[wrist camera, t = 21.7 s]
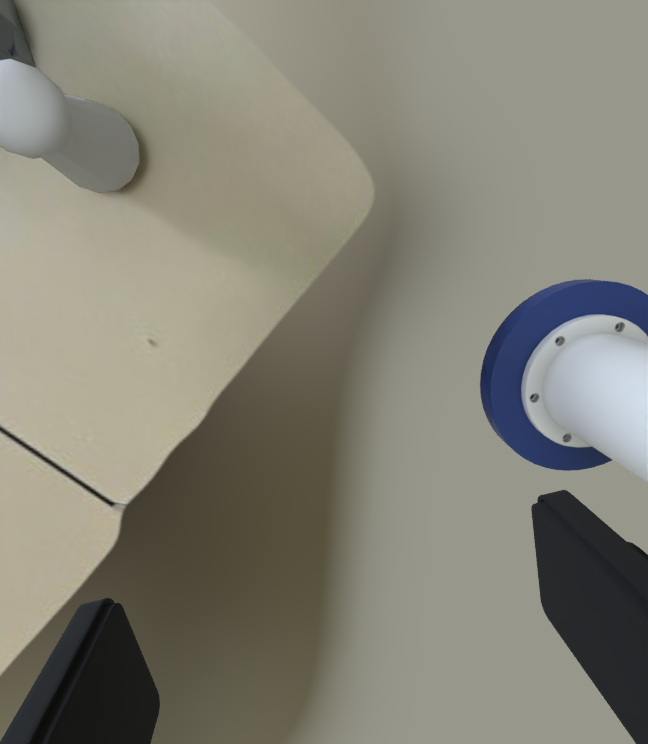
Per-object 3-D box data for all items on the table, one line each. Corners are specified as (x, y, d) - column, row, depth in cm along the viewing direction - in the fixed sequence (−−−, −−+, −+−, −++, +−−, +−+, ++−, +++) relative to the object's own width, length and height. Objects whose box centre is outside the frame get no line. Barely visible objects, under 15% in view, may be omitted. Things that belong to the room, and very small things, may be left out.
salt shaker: (53, 130, 34) (-84, 60, 21) (124, 99, 34) (28, 11, 21) (93, 208, 35) (-12, 186, 23) (161, 179, 35) (92, 141, 23)
